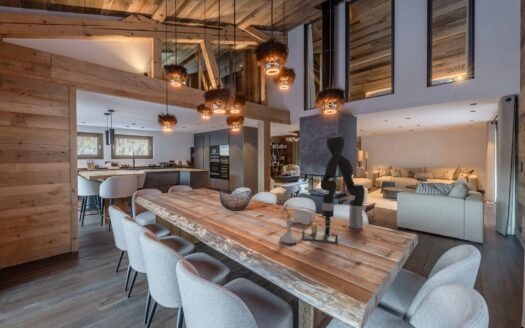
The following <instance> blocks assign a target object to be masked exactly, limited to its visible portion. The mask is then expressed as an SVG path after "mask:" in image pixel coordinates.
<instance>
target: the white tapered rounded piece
mask: <svg viewBox="0 0 525 328" xmlns="http://www.w3.org/2000/svg"><path fill="white" fill-rule="evenodd" d="M288 205H289V204H288V203H286V204H285V206H284V207H283V209H282V211H281V212H280V215H283V214H284V212H285V211H286V214H287V216H286V219H284V221H285V222H286V228H287V229H286V231H285V233H284V234H282V235H280V238H279V240H280V242H281V243H283V244H288V245H292V244H296V243H297V242H298V241H299V239H298V237H297V236H296V235H295V234H294V233H293V232H292V223H293V222H294V219H291V218H292V216H291V214H290V213H288V211H287V207H288Z"/></svg>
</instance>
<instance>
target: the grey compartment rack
mask: <svg viewBox="0 0 525 328" xmlns="http://www.w3.org/2000/svg"><path fill="white" fill-rule="evenodd" d="M305 230H306V229H305V228H303V229H302V232H301V233H302V234H301V240H302V241H307V242H308V241H311V242H318V243H319V242H320V243H328V244H337V245H338V243H339V241H338V240H339V239H338V237H339V234H338V231H335V237H334V238H333V237H327V235H326V231H325V230H324V236H316V235H315V230H314V231H313V234H312V235H305Z"/></svg>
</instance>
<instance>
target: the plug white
mask: <svg viewBox="0 0 525 328" xmlns="http://www.w3.org/2000/svg"><path fill="white" fill-rule="evenodd" d="M326 227H329V226H325V225H324V232H325V231H326ZM329 236H331V228H330V229H329V235H326V237H329Z"/></svg>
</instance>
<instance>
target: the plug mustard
mask: <svg viewBox="0 0 525 328" xmlns="http://www.w3.org/2000/svg"><path fill="white" fill-rule="evenodd" d="M314 230H315V236H316V235H318V234H317V233H318V224H317V223H316V222H312V223H311V235H313V231H314Z"/></svg>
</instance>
